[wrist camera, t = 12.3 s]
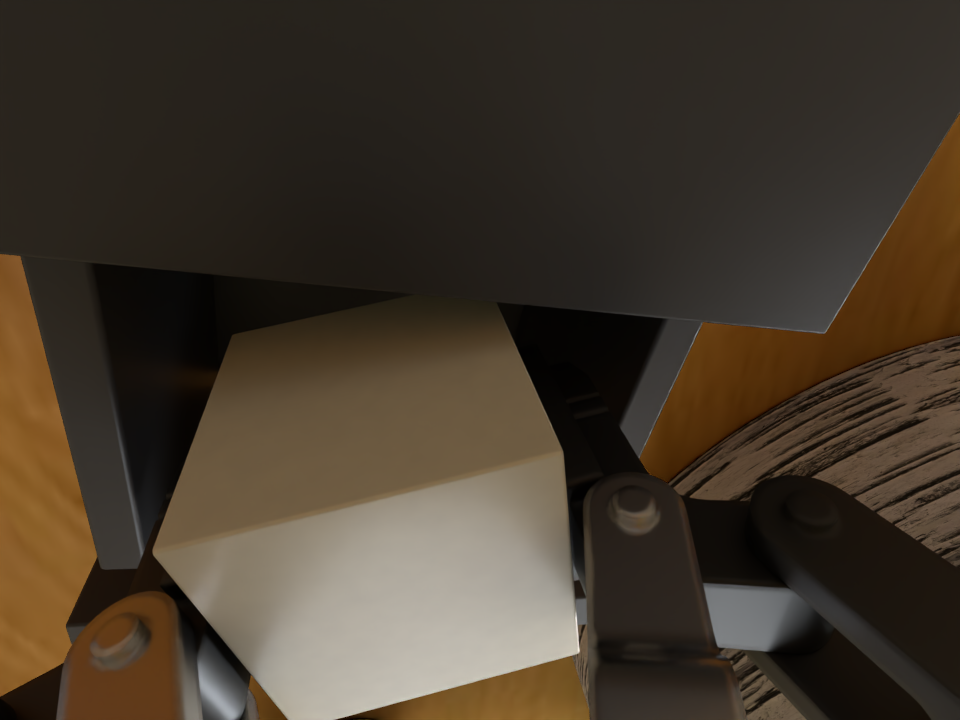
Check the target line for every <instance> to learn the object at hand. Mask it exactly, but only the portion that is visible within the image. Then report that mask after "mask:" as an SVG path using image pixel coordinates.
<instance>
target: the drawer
mask: <svg viewBox="0 0 960 720" xmlns="http://www.w3.org/2000/svg"><path fill="white" fill-rule="evenodd" d="M21 260H22V264H23V267H24V271H25V275H26V279H27V283H28V287H29V291H30V295H31V299H32V303H33V306H34V310H35V314H36V318H37V322H38V326H39V330H40V334H41V338H42V342H43V345H44V349H45V353H46V357H47V361H48V365H49V369H50V373H51V377H52V380H53V384H54V388H55V392H56V396H57V400H58V404H59V408H60V412H61V416H62V419H63V423H64V427H65V431H66V435H67V439H68V443H69V447H70V451H71V455H72V458H73V462H74V466H75V470H76V474H77V478H78V482H79V486H80V490H81V494H82V497H83V501H84V505H85V509H86V513H87V517H88V521H89V525H90V529H91V533H92V536H93V540H94V544H95V548H96V552H97V556H98V557H97V559H96V561H95V563H94V565H93V568H92V570H91V572H90V574H89V576H88V578H87V581H86V583H85V585H84V587H83V589H82V591H81V594H80V596H79V598H78V600H77V602H76V604H75V607H74V609H73V611H72V613H71V615H70V617H69V620H68V622H67V624H66V629H67V632H68V635H69V637H70V640H71V643H72V644H73V642H74V641H75V640H76V638H77V637H78V635H79V634H80V633H81V632H82V630H83V629H84V628H85V627H86V626H87V625H88V624H89V623H90V622H91V621H92V620H93V619H94V618H95V617H96V616H97V615H99V614H100V613H101V612H102V611H104V610H105V609H106V608H108V607H109V606H111V605H112V604H114V603H116V602H118V601H119V600H121V599H123V598H126V597H127V594H128V592H129V589H130V586H131V584H132V581H133V579H134V576H135V573H136V571H137V568H138V566H139V563H140V560H141V558H142V555H143V553H144V550H145V547H146V545H147V542H148V540H149V537H150V534H151V532H152V529H153V526H154V524H155V521H156V520H159V517H158V513H159V511H160V508H161V506H162V503H163V500H166V496H165V495H166V493H167V490H168V487H169V485H170V482H171V480H172V477H173V474H174V472H175V470H176V469H177V468H178V467H179V466H180V464H181V463H182V462H183V461H184V460H185V458H186V457H187V456H188V453H189V450H190V447H191V445H192V442H193V439H194V437H195V434H196V431H197V429H198V426H199V423H200V421H201V418H202V415H203V412H204V410H205V407H206V404H207V402H208V399H209V396H210V394H211V391H212V388H213V385H214V383H215V380H216V377H217V375H218V372H219V369H220V367H221V364H222V361H223V359H224V356H225V353H226V350H227V348H228V345H229V342H230V340H231V337H232V335H234V334H237V333H242V332H246V331H251V330H255V329H260V328H265V327H269V326H274V325H278V324H283V323H287V322H292V321H296V320H301V319H306V318H310V317H315V316H319V315H324V314H328V313H333V312H337V311H342V310H346V309H351V308H356V307H360V306H365V305H369V304H374V303H378V302H383V301H387V300H392V299H396V298H401V297H406V296H410V295H415V294H408V293H398V292H388V291H377V290H367V289H357V288H346V287H336V286H326V285H315V284H305V283H295V282H285V281H274V280H264V279H254V278H243V277H233V276H223V275H213V274H202V273H192V272H182V271H171V270H161V269H151V268H141V267H130V266H120V265H110V264H99V263H89V262H79V261H69V260H58V259H48V258H38V257H27V256H21ZM496 303H497V305H498V307H499V310H500V312H501V314H502V316H503V318H504V321H505V323H506V325H507V327H508V330H509V332H510V334H511V336H512V338H513V341H514V343H515V345H516V347H517V346H522V345H526V344H530V343H536V344H537V345H538V347H539V349H540V351H541V353H542V355H543V357H544V359H545V361H546V363H547V365H548V366H550V365H555V364H559V363H563V362H567V361H568V362H570V363H571V364H573V365H574V366H576V367H577V368H579V369H580V370H582V371H583V372H585V373H586V374H588V376H589V377H590V379H591V381H592V382H593V384H594V385H595V387H596V389H597V390H598V392H599V396H601V397H602V399H603V400H604V402H605V404H606V405H607V407H608V410H609V412H611V413H612V415H613V417H614V418H615V420H616V422H617V423H618V425H619V427H620V428H621V430H622V432H623V433H624V435H625V436H626V438H627V440H628V441H629V443H630V445H631V446H632V448H633V450H634V451H635V453H636V455H637V456H638V458H640V456H641V454H642V452H643V449H644V447H645V445H646V443H647V441H648V439H649V437H650V434H651V432H652V430H653V428H654V426H655V424H656V422H657V420H658V417H659V415H660V413H661V411H662V409H663V407H664V405H665V403H666V400H667V398H668V396H669V394H670V392H671V390H672V388H673V385H674V383H675V381H676V379H677V377H678V375H679V373H680V371H681V368H682V366H683V364H684V362H685V360H686V358H687V356H688V354H689V351H690V349H691V347H692V345H693V343H694V341H695V339H696V336H697V334H698V332H699V330H700V328H701V326H702V324H703V322H696V321H686V320H676V319H665V318H655V317H645V316H634V315H624V314H614V313H604V312H593V311H583V310H573V309H562V308H552V307H542V306H532V305H521V304H511V303H501V302H496ZM574 589H575V601H576V613H577V625H584V624H587V608H586V595H585V593H584V590H583V588H582V585H581V582H580V580H576V581H574Z"/></svg>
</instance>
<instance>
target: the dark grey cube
mask: <svg viewBox="0 0 960 720" xmlns="http://www.w3.org/2000/svg"><path fill="white" fill-rule="evenodd" d="M959 114H960V0H0V254H7V255H17V256H27V257H38V258H48V259H58V260H69V261H79V262H89V263H99V264H110V265H120V266H130V267H141V268H151V269H161V270H171V271H182V272H192V273H202V274H213V275H223V276H233V277H243V278H254V279H264V280H274V281H285V282H295V283H305V284H315V285H326V286H336V287H346V288H357V289H367V290H377V291H388V292H398V293H408V294H418V295H429V296H439V297H449V298H460V299H470V300H480V301H490V302H501V303H511V304H521V305H532V306H542V307H552V308H562V309H573V310H583V311H593V312H604V313H614V314H624V315H634V316H645V317H655V318H665V319H676V320H686V321H696V322H707V323H717V324H727V325H737V326H748V327H758V328H768V329H779V330H789V331H799V332H809V333H820V334H824V333H825V332H827V330H828V328H829V327H830V325H831V323H832V322H833V320H834V318H835V317H836V315H837V314H838V312H839V310H840V309H841V307H842V305H843V304H844V302H845V300H846V299H847V297H848V296H849V294H850V292H851V291H852V289H853V287H854V286H855V284H856V282H857V281H858V279H859V277H860V276H861V274H862V273H863V271H864V269H865V268H866V266H867V264H868V263H869V261H870V259H871V258H872V256H873V255H874V253H875V251H876V250H877V248H878V246H879V245H880V243H881V241H882V240H883V238H884V236H885V235H886V233H887V232H888V230H889V228H890V227H891V225H892V223H893V222H894V220H895V218H896V217H897V215H898V214H899V212H900V210H901V209H902V207H903V205H904V204H905V202H906V200H907V199H908V197H909V195H910V194H911V192H912V191H913V189H914V187H915V186H916V184H917V182H918V181H919V179H920V177H921V176H922V174H923V173H924V171H925V169H926V168H927V166H928V164H929V163H930V161H931V159H932V158H933V156H934V155H935V153H936V151H937V150H938V148H939V146H940V145H941V143H942V141H943V140H944V138H945V136H946V135H947V133H948V132H949V130H950V128H951V127H952V125H953V123H954V122H955V120H956V118H957V117H958V115H959Z"/></svg>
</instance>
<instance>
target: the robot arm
mask: <svg viewBox="0 0 960 720" xmlns="http://www.w3.org/2000/svg"><path fill="white" fill-rule="evenodd" d="M517 350H518V352H519V354H520V356H521V359H522V361H523V363H524V365H525V367H526V370H527V372H528V374H529V376H530V379H531V381H532V383H533V385H534V387H535V390H536V392H537V394H538V396H539V399H540V401H541V403H542V405H543V408H544V410H545V412H546V414H547V416H548V419H549V421H550V423H551V425H552V428H553V430H554V432H555V434H556V436H557V439H558V441H559V443H560V445H561V448H562V450H563V452H564V465H565V477H566V490H567V502H568V514H569V527H570V539H571V551H572V564H573V576H574V581H576V580H580V582H581V585H582V588H583V590H584V593H585V595H586V608H587V636H588V684H589V713H590V720H747V716H746V711H745V707H744V703H743V699H742V695H741V691H740V687H739V684H738V681H737V677H736V674H735V672H734V669H733V667H732V664H731V662H730V661H729V659H728V658H727V657H726V656H722V655H721V653H720V651H719V649H718V647H720V648H732V649H741V650H742V651H743V652H744V653H745V654H746V655H747V656H748V657H749V658H750V660H751V661H752V662H753V663H754V664H755V665H756V666H757V667H758V668H759V669H760V670H761V671H762V672H763V673H764V675H765V676H766V677H767V678H768V679H769V680H770V681H771V682H772V683H773V684H774V685H775V686H776V687H777V689H778V690H779V691H780V692H781V693H782V694H783V695H784V696H785V697H786V698H787V699H788V700H789V701H790V702H791V704H792V705H793V706H794V707H795V708H796V709H797V710H798V711H799V712H800V713H801V714H802V715H803V716H804V718H805V719H806V720H960V569H959V568H957V567H956V566H954V565H953V564H951V563H950V562H948V561H947V560H945V559H944V558H942V557H941V556H939V555H938V554H936V553H935V552H933V551H932V550H931V549H929V548H928V547H926V546H925V545H923V544H922V543H920V542H919V541H917V540H916V539H914V538H913V537H911V536H910V535H908V534H907V533H905V532H904V531H902V530H901V529H900V528H898V527H897V526H895V525H894V524H892V523H891V522H889V521H888V520H886V519H885V518H883V517H882V516H880V515H879V514H877V513H876V512H874V511H873V510H871V509H870V508H869V507H867V506H866V505H864V504H863V503H861V502H860V501H858V500H857V499H855V498H854V497H852V496H851V495H849V494H848V493H846V492H845V491H843V490H841V489H840V488H838V487H836V486H834V485H832V484H830V483H828V482H825V481H822V480H819V479H816V478H812V477H808V476H800V475H784V476H778V477H774V478H771V479H768V480H766V481H764V482H763V483H761V484H760V485H759V486H758V487H757V488H756V489H755V490H754V492H753V494H752V496H751V500H750V501H731V500H705V499H696V498H691V497H687V496H684V495H680V494H678V493H677V492H676V490H675V489H673V488H672V487H671V486H670V485H669V484H667V483H666V482H664V481H663V480H661V479H659V478H656V477H654V476H651V475H649V473H648V472H647V471H646V469H645V468H644V466H643V464H642V463H641V461H640V460H639V458H638V456H637V455H636V453H635V451H634V450H633V448H632V446H631V445H630V443H629V441H628V440H627V438H626V436H625V435H624V433H623V432H622V430H621V428H620V427H619V425H618V423H617V422H616V420H615V418H614V417H613V415H612V413H611V412H609V410H608V407H607V405H606V404H605V402H604V400H603V399H602V397H601V396H599V392H598V390H597V389H596V387H595V385H594V384H593V382H592V381H591V379H590V377H589V376H588V374H586V373H585V372H583V371H582V370H580V369H579V368H577V367H576V366H574V365H573V364H571V363H570V362H568V361H567V362H563V363H559V364H555V365H550V366H548V365H547V363H546V361H545V359H544V357H543V355H542V353H541V351H540V349H539V347H538V345H537V344H536V343H530V344H526V345H522V346H517ZM186 458H187V457H186ZM186 458H185V460H184V461H183V462H182V463H181V464H180V466H179V467H178V468H177V469H176V470H175V472H174V474H173V477H172V480H171V482H170V485H169V487H168V490H167V493H166V495H165V496H166V500H163V503H162V506H161V508H160V511H159V513H158V517H159V520H156V521H155V524H154V526H153V529H152V532H151V534H150V537H149V540H148V542H147V545H146V547H145V550H144V553H143V555H142V558H141V560H140V563H139V566H138V568H137V571H136V573H135V576H134V579H133V581H132V584H131V586H130V589H129V592H128V594H127V597H126V598H123V599H121V600H119V601H118V602H116V603H114V604H112V605H111V606H109V607H108V608H106V609H105V610H104V611H102V612H101V613H100V614H99V615H97V616H96V617H95V618H94V619H93V620H92V621H91V622H90V623H89V624H88V625H87V626H86V627H85V628H84V629H83V630H82V632H81V633H80V634H79V635H78V637H77V638H76V640H75V641H74V642H73V644H72V646H71V648H70V649H69V651H68V653H67V656H66V658H65V661H64V663H63V664H61V665H59V666H57V667H56V668H54V669H52V670H50V671H48V672H46V673H44V674H42V675H41V676H39V677H37V678H35V679H33V680H31V681H29V682H27V683H25V684H24V685H22V686H20V687H18V688H16V689H14V690H12V691H10V692H8V693H7V694H5V695H3V696H1V697H0V720H259V715H258V710H257V704H256V700H255V697H254V695H253V694H252V692H251V691H250V690H249V682H250V675H251V674H250V673H249V671H248V670H247V669H246V668H245V666H244V665H243V664H242V663H241V662H240V660H239V659H238V658H237V657H236V656H235V654H234V653H233V652H232V651H231V649H230V648H229V647H228V646H227V645H226V643H225V642H224V641H223V640H222V638H221V637H220V636H219V635H218V634H217V632H216V631H215V630H214V629H213V627H212V626H211V625H210V624H209V623H208V621H207V620H206V619H205V618H204V616H203V615H202V614H201V613H200V612H199V610H198V609H197V608H196V607H195V605H194V604H193V603H192V602H191V601H190V599H189V598H188V597H187V596H186V594H185V593H184V592H183V591H182V590H181V588H180V587H179V586H178V585H177V584H176V582H175V581H174V580H173V579H172V577H171V576H170V575H169V574H168V573H167V571H166V570H165V569H164V568H163V566H162V565H161V564H160V563H159V562H158V560H157V559H156V558H155V557H154V555H153V547H154V544H155V542H156V539H157V536H158V534H159V531H160V528H161V526H162V523H163V520H164V518H165V515H166V512H167V509H168V507H169V504H170V501H171V499H172V496H173V493H174V491H175V488H176V485H177V482H178V480H179V477H180V474H181V472H182V469H183V466H184V464H185V461H186Z"/></svg>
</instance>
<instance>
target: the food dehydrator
mask: <svg viewBox="0 0 960 720" xmlns="http://www.w3.org/2000/svg"><path fill="white" fill-rule="evenodd" d="M784 475H800V476H808V477H812V478H816V479H819V480H822V481H825V482H828V483H830V484H832V485H834V486H836V487H838V488H840V489H841V490H843V491H845V492H846V493H848V494H849V495H851V496H852V497H854V498H855V499H857V500H858V501H860V502H861V503H863V504H864V505H866V506H867V507H869V508H870V509H871V510H873V511H874V512H876V513H877V514H879V515H880V516H882V517H883V518H885V519H886V520H888V521H889V522H891V523H892V524H894V525H895V526H897V527H898V528H900V529H901V530H902V531H904V532H905V533H907V534H908V535H910V536H911V537H913V538H914V539H916V540H917V541H919V542H920V543H922V544H923V545H925V546H926V547H928V548H929V549H931V550H932V551H933V552H935V553H936V554H938V555H939V556H941V557H942V558H944V559H945V560H947V561H948V562H950V563H951V564H953V565H954V566H956V567H957V568H959V569H960V336H956V337H951V338H947V339H942V340H938V341H934V342H930V343H927V344H923V345H919V346H916V347H913V348H909V349H906V350H903V351H900V352H897V353H894V354H891V355H888V356H885V357H882V358H880V359H877V360H874V361H871V362H869V363H866V364H864V365H861V366H859V367H856V368H854V369H852V370H849V371H847V372H845V373H842V374H840V375H838V376H836V377H833V378H831V379H829V380H827V381H825V382H822V383H820V384H818V385H816V386H814V387H812V388H810V389H808V390H806V391H804V392H802V393H800V394H799V395H797V396H795V397H793V398H791V399H789V400H787V401H785V402H784V403H782V404H780V405H778V406H777V407H775V408H773V409H771V410H770V411H768V412H766V413H765V414H763V415H761V416H760V417H758V418H756V419H755V420H753V421H752V422H750V423H748V424H747V425H745V426H744V427H742V428H741V429H739V430H738V431H736V432H735V433H733V434H732V435H730V436H729V437H727V438H726V439H724V440H723V441H721V442H720V443H719V444H717V445H716V446H715V447H713V448H712V449H710V450H709V451H708V452H706V453H705V454H704V455H702V456H701V457H700V458H698V459H697V460H696V461H695V462H693V463H692V464H691V465H690V466H688V467H687V468H686V469H685V470H683V471H682V472H681V473H680V474H679V475H678V476H676V477H675V478H674V479H673V480H672V481H671V482H670V483H668V484H669V485H670V486H671V487H672V488H673V489H675V490H676V492H677V493H678V494H680V495H684V496H687V497H691V498H696V499H705V500H731V501H750V500H751V496H752V494H753V492H754V490H755V489H756V488H757V487H758V486H759V485H760V484H761V483H763V482H764V481H766V480H768V479H771V478H774V477H778V476H784ZM577 626H578V638H579V653H578V654H575V655H572V656H573V661H574V664H575V667H576V670H577V673H578V676H579V680H580V683H581V686H582V689H583V692H584V695H585V698H586V701H587V704H588V707H589V684H588V636H587V624H584V625H577ZM718 649H719V651H720V653H721V655H722V656H726V657H727V658H728V659H729V661H730V662H731V664H732V667H733V669H734V672H735V674H736V677H737V681H738V684H739V687H740V691H741V695H742V699H743V703H744V707H745V711H746V716H747V720H806V719H805V718H804V716H803V715H802V714H801V713H800V712H799V711H798V710H797V709H796V708H795V707H794V706H793V705H792V704H791V702H790V701H789V700H788V699H787V698H786V697H785V696H784V695H783V694H782V693H781V692H780V691H779V690H778V689H777V687H776V686H775V685H774V684H773V683H772V682H771V681H770V680H769V679H768V678H767V677H766V676H765V675H764V673H763V672H762V671H761V670H760V669H759V668H758V667H757V666H756V665H755V664H754V663H753V662H752V661H751V660H750V658H749V657H748V656H747V655H746V654H745V653H744V652H743V651H742V650H741V649H732V648H720V647H718Z"/></svg>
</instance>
